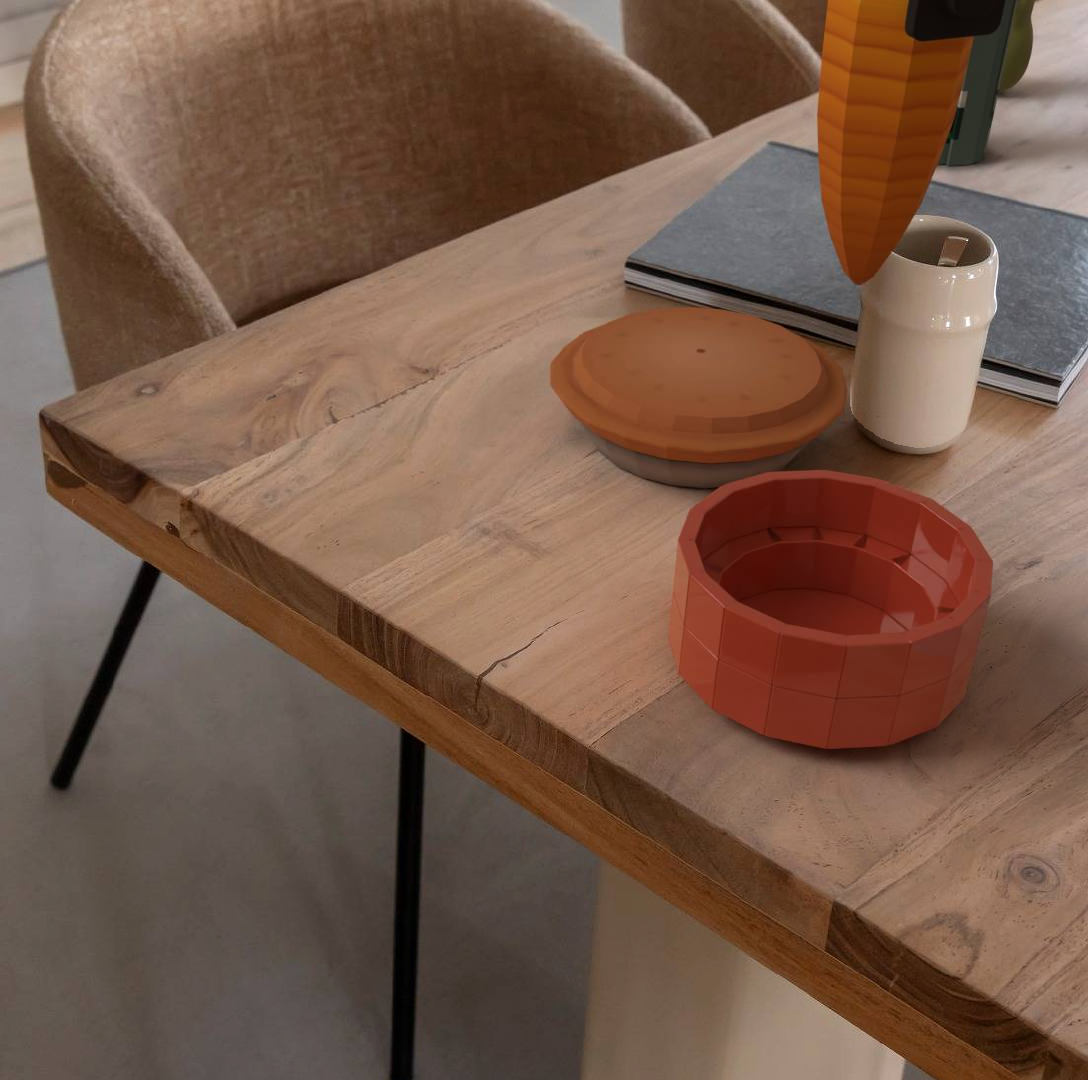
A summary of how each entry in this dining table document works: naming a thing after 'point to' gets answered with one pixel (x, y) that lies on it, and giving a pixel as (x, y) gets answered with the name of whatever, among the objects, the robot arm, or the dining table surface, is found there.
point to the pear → (1018, 46)
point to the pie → (698, 393)
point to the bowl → (827, 607)
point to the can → (979, 94)
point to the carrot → (880, 125)
